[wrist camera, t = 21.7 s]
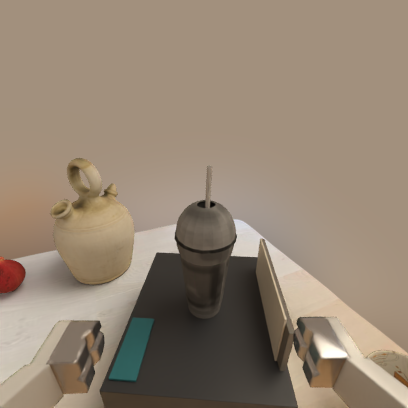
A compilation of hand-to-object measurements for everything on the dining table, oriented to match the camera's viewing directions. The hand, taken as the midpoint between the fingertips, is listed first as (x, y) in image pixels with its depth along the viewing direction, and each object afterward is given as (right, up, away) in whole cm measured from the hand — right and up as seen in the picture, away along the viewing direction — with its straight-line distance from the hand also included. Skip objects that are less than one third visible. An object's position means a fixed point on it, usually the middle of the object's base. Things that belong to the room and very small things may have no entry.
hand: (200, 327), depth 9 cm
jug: (-23, -9, +42) cm, 49 cm away
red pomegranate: (-38, -12, +35) cm, 53 cm away
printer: (0, -17, +26) cm, 31 cm away
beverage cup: (0, -9, +22) cm, 24 cm away
